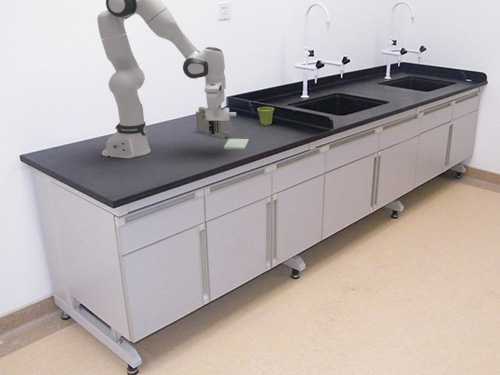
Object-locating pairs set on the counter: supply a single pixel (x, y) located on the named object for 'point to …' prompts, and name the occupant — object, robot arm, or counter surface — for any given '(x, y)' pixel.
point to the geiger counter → (210, 125)
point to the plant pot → (265, 115)
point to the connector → (219, 114)
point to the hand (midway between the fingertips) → (217, 115)
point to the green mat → (236, 144)
